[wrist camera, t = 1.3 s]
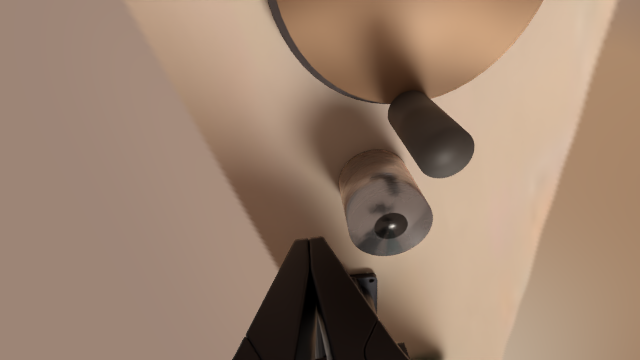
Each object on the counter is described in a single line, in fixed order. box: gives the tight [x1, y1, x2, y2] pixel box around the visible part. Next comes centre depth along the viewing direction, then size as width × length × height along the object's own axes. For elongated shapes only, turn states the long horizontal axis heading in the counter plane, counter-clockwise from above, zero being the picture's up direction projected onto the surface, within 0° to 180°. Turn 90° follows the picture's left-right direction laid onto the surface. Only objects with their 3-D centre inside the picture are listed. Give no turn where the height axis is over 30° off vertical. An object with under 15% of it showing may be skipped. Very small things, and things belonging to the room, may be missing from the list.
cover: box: [339, 150, 433, 256], centre depth 21 cm, size 5×5×5 cm
